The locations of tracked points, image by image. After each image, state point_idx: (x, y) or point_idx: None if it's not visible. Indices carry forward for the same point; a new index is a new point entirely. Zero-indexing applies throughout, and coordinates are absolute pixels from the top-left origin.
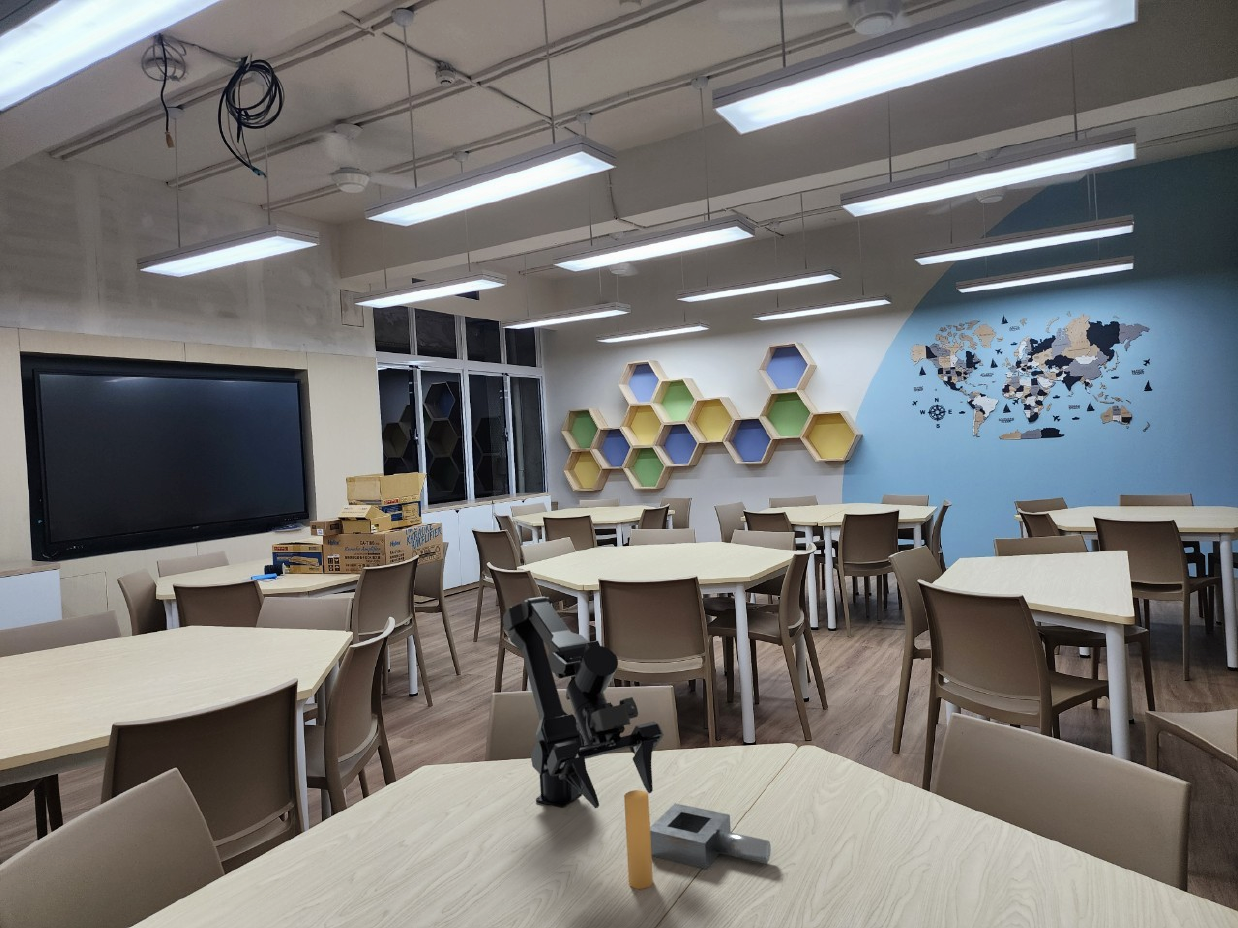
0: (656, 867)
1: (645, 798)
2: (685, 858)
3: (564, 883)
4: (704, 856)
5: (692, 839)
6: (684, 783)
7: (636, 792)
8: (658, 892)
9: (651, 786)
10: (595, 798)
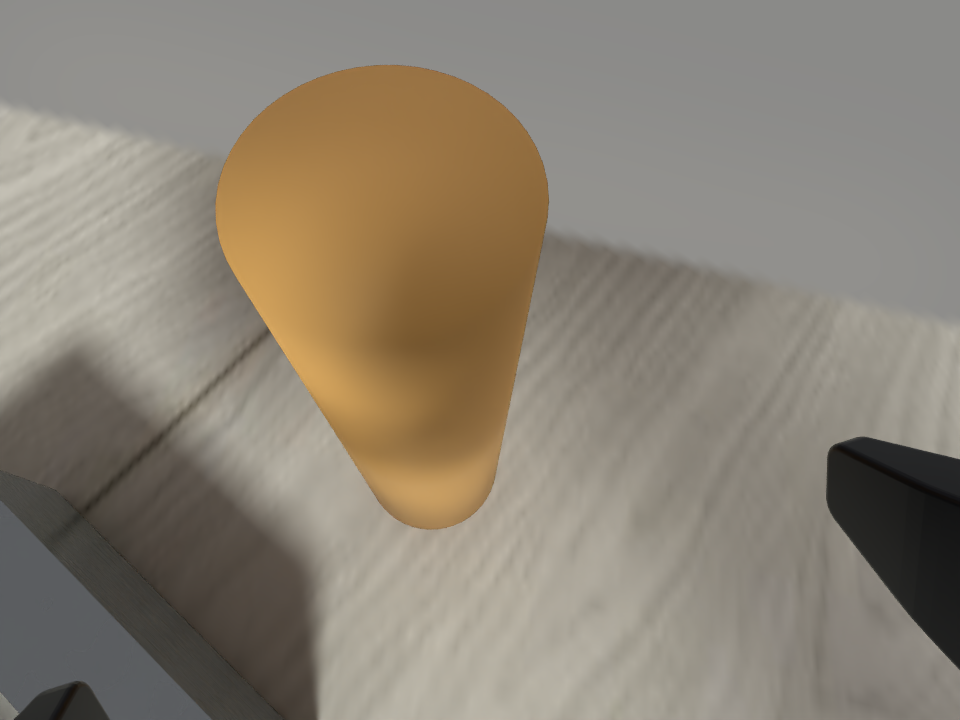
0: (310, 600)
1: (290, 96)
2: (124, 573)
3: (838, 573)
4: (19, 480)
5: (10, 529)
6: None
7: (355, 281)
8: None
9: (26, 715)
10: (918, 464)
